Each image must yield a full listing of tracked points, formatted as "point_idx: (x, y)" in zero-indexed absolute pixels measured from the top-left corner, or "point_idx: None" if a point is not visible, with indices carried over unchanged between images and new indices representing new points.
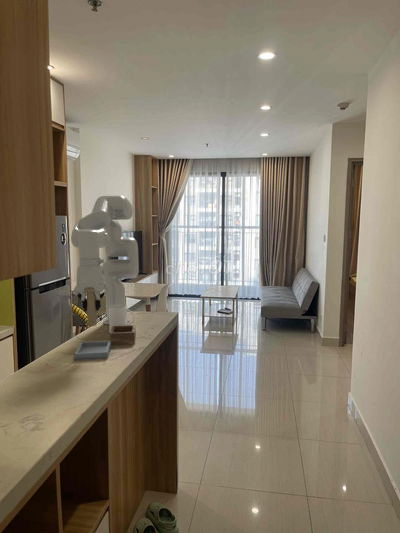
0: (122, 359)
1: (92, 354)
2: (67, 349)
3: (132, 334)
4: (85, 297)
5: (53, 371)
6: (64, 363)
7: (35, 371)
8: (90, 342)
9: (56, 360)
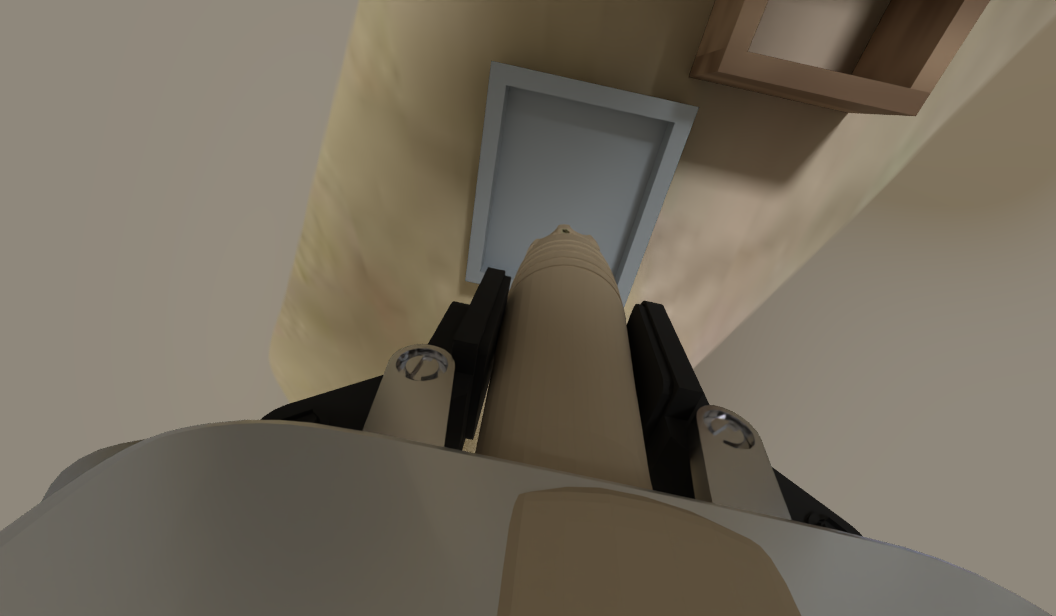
0: (676, 329)
1: None
2: (415, 63)
3: (886, 111)
4: (451, 398)
5: (404, 346)
6: (432, 285)
7: (338, 324)
8: (555, 95)
9: (390, 235)
